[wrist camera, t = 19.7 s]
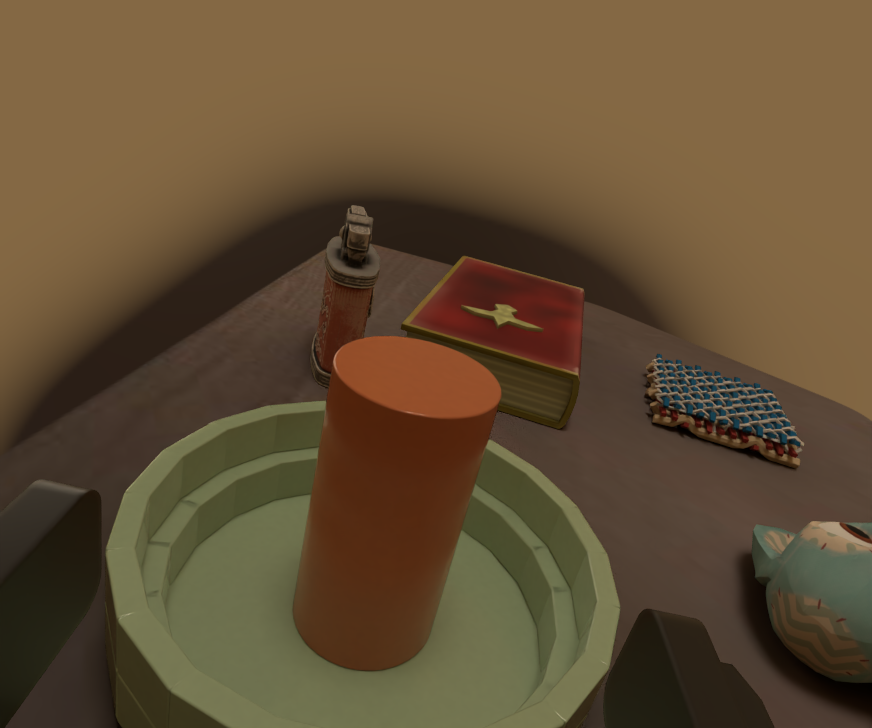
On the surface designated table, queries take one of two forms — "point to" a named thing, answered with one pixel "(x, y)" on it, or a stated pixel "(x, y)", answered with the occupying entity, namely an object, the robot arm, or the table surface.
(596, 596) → the green shallow round container
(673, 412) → the woven mat
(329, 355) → the lighter
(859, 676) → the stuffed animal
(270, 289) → the table surface
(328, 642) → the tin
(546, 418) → the hardcover book
